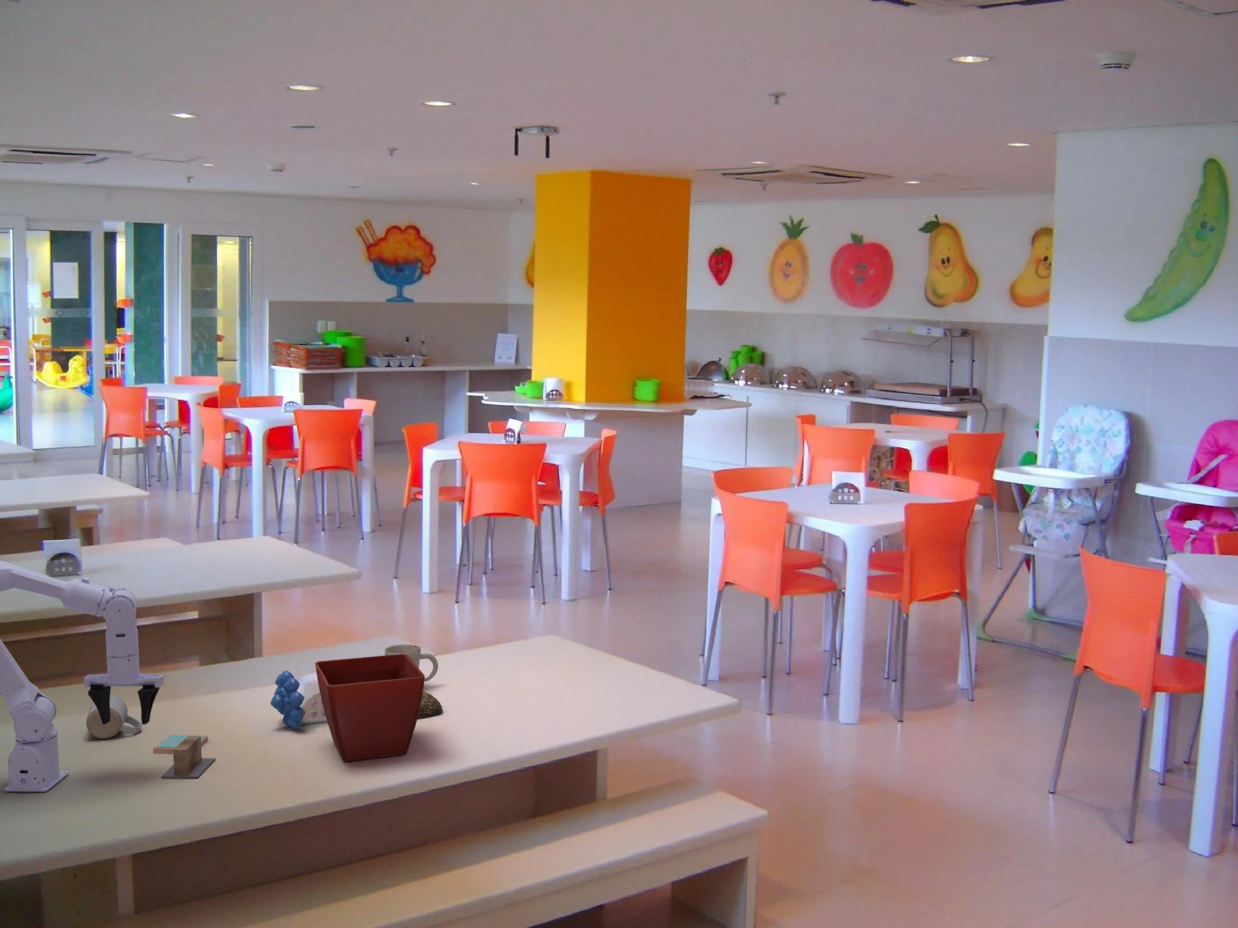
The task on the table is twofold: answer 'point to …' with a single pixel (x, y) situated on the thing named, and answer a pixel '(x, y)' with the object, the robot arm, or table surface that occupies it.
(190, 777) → the mat
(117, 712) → the ceramic mug
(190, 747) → the bronze rectangular prism
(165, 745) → the picture frame
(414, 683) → the plant pot
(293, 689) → the grapes
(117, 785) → the table surface
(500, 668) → the table surface
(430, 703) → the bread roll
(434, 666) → the mug
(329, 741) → the table surface
